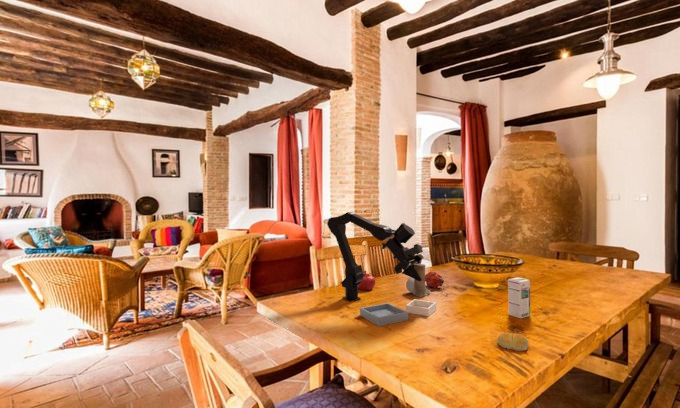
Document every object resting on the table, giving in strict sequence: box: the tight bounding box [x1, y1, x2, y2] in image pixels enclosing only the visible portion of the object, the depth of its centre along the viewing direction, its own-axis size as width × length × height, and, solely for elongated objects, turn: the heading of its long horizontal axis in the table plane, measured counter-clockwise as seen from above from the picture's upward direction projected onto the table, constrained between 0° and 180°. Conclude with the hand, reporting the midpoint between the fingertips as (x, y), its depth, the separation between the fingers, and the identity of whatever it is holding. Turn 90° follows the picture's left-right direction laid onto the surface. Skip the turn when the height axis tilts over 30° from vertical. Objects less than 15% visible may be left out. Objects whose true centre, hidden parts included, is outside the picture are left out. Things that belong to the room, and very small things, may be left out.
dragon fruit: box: [425, 271, 445, 289], centre depth 189 cm, size 8×8×12 cm
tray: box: [359, 302, 409, 327], centre depth 145 cm, size 14×14×3 cm
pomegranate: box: [357, 270, 376, 291], centre depth 188 cm, size 10×10×9 cm
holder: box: [405, 298, 437, 317], centre depth 153 cm, size 10×10×3 cm
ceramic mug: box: [405, 277, 431, 295], centre depth 177 cm, size 11×8×8 cm
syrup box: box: [507, 277, 531, 319], centre depth 146 cm, size 6×6×14 cm
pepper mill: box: [413, 263, 426, 297], centre depth 152 cm, size 4×4×12 cm
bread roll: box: [497, 331, 529, 352], centre depth 118 cm, size 8×9×4 cm
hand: (422, 279), depth 151 cm, fingers closed on pepper mill, 4 cm apart
